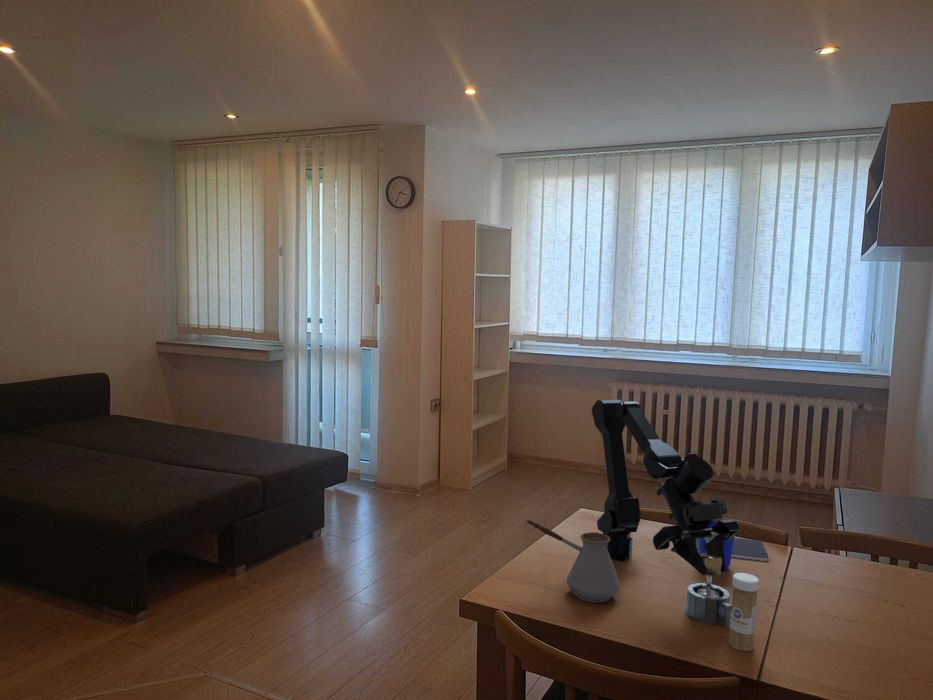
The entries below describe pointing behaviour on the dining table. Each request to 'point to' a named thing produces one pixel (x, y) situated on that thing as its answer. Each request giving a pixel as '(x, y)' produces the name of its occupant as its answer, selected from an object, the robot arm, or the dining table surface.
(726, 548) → the mug
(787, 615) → the dining table surface
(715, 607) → the press body
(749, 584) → the sprinkles bottle
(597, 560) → the coffee pot
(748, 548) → the notebook
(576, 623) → the dining table surface
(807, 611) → the dining table surface
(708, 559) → the plunger
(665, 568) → the dining table surface
